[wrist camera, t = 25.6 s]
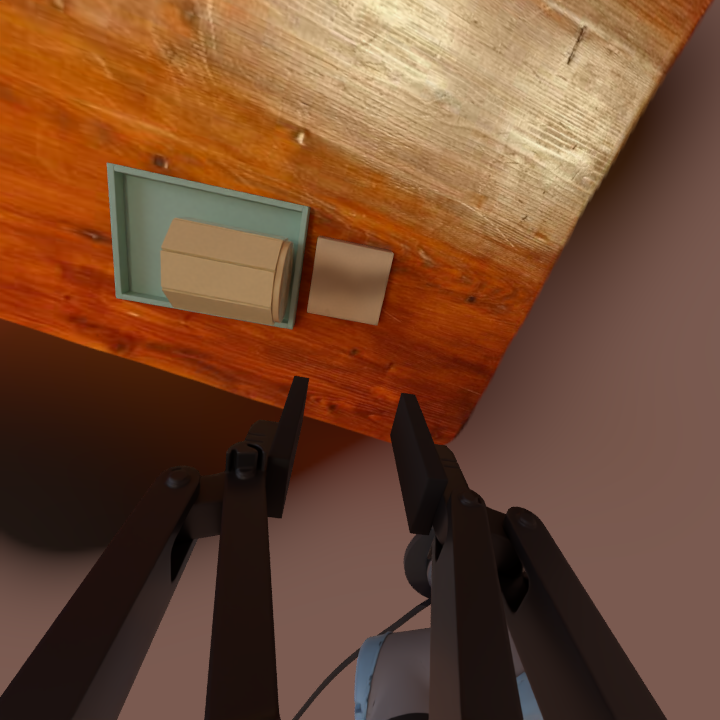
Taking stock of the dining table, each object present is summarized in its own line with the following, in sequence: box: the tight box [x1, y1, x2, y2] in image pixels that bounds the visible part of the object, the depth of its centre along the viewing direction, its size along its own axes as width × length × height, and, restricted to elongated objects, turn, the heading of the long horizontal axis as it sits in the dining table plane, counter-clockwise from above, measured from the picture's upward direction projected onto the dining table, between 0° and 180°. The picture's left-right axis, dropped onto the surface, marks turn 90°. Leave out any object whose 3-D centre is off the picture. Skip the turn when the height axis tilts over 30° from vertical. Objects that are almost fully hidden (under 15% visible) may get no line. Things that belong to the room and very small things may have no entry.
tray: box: [107, 163, 310, 329], centre depth 37 cm, size 19×13×2 cm
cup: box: [160, 217, 294, 325], centre depth 34 cm, size 8×8×10 cm
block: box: [307, 236, 394, 325], centre depth 38 cm, size 8×8×3 cm
